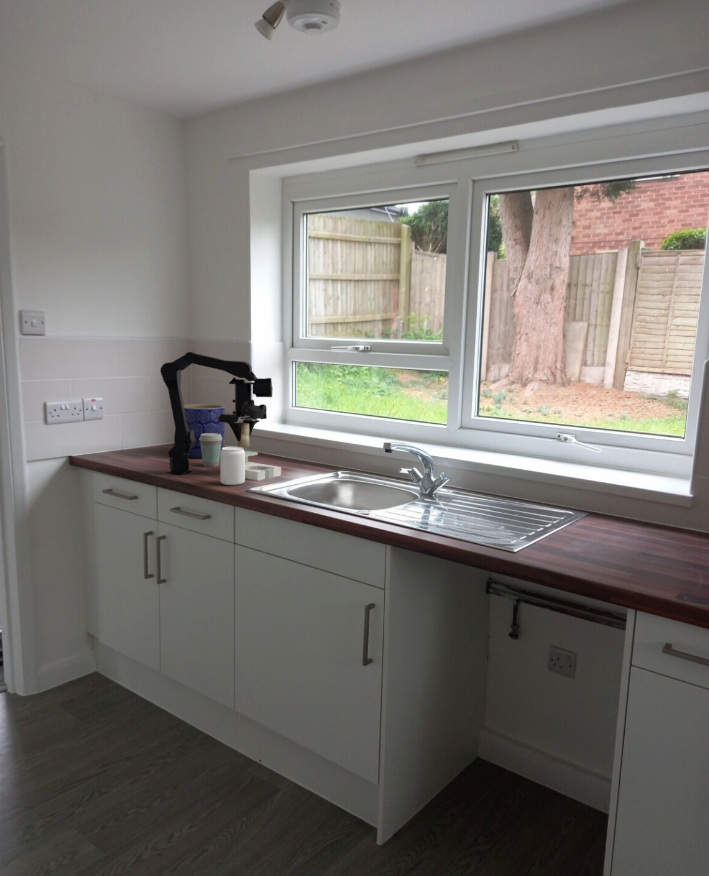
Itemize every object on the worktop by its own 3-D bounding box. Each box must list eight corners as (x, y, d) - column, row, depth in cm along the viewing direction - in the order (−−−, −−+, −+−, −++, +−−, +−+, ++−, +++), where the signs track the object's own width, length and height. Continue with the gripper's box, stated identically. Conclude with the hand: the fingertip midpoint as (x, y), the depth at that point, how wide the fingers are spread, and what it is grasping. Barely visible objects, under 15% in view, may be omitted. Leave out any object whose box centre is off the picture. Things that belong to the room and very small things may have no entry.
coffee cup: (198, 463, 263) (198, 433, 261) (221, 463, 265) (221, 432, 264) (200, 468, 255) (199, 436, 253) (223, 467, 257) (223, 435, 256)
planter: (174, 453, 284) (174, 404, 281) (218, 451, 292) (218, 403, 289) (185, 461, 268) (184, 409, 265) (230, 458, 276) (230, 407, 273)
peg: (235, 446, 244) (235, 423, 243) (243, 444, 247) (243, 422, 246) (243, 447, 242) (243, 424, 241) (251, 445, 245) (251, 423, 244)
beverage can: (239, 486, 225) (239, 450, 223) (216, 485, 227) (216, 449, 225) (248, 481, 233) (248, 447, 231) (226, 480, 235) (225, 445, 233)
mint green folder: (225, 472, 247) (225, 453, 246) (244, 468, 255) (244, 450, 254) (238, 475, 244) (238, 455, 243) (257, 471, 252) (257, 452, 251)
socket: (225, 474, 245) (225, 466, 244) (248, 469, 254) (248, 461, 254) (259, 480, 235) (259, 472, 235) (282, 475, 245) (282, 467, 244)
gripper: (240, 400, 230) (240, 445, 232) (277, 396, 245) (277, 439, 247) (217, 397, 236) (217, 442, 239) (255, 394, 251) (255, 436, 254)
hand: (243, 440), depth 244 cm, fingers closed on peg, 4 cm apart
